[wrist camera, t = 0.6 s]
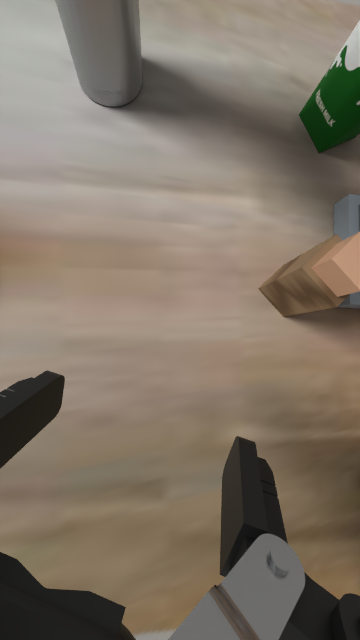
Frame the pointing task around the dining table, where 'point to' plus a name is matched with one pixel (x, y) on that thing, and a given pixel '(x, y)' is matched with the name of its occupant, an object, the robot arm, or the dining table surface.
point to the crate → (302, 284)
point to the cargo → (341, 267)
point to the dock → (348, 232)
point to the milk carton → (336, 99)
